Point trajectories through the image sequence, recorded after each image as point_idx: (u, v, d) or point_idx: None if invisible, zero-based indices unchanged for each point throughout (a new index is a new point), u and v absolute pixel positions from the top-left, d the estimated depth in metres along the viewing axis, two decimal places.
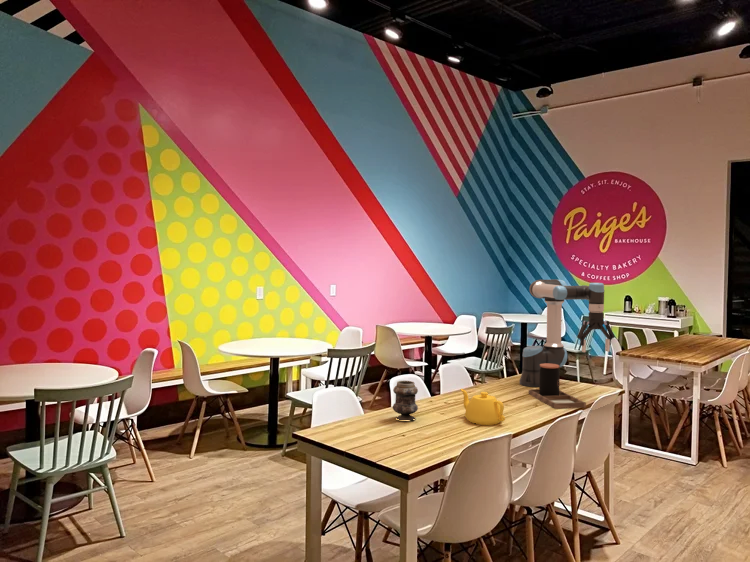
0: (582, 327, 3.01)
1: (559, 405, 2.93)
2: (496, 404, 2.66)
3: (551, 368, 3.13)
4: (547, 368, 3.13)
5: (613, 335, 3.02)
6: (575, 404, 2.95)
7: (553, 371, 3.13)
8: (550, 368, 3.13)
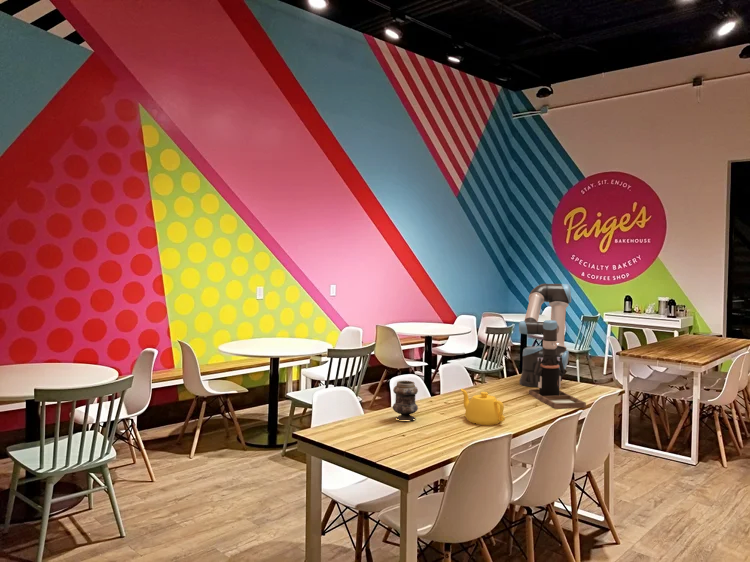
0: (537, 364, 3.17)
1: (559, 405, 2.93)
2: (496, 404, 2.66)
3: (551, 368, 3.13)
4: (547, 368, 3.13)
5: (564, 372, 3.18)
6: (575, 404, 2.95)
7: (553, 371, 3.13)
8: (550, 368, 3.13)
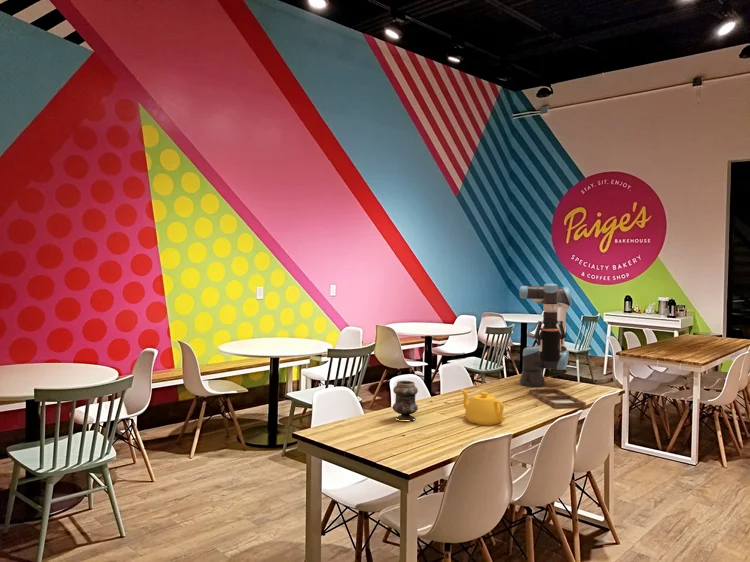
0: (537, 327, 3.16)
1: (559, 405, 2.93)
2: (496, 404, 2.66)
3: (552, 331, 3.12)
4: (548, 331, 3.13)
5: (565, 335, 3.17)
6: (575, 404, 2.95)
7: (554, 334, 3.12)
8: (551, 331, 3.12)
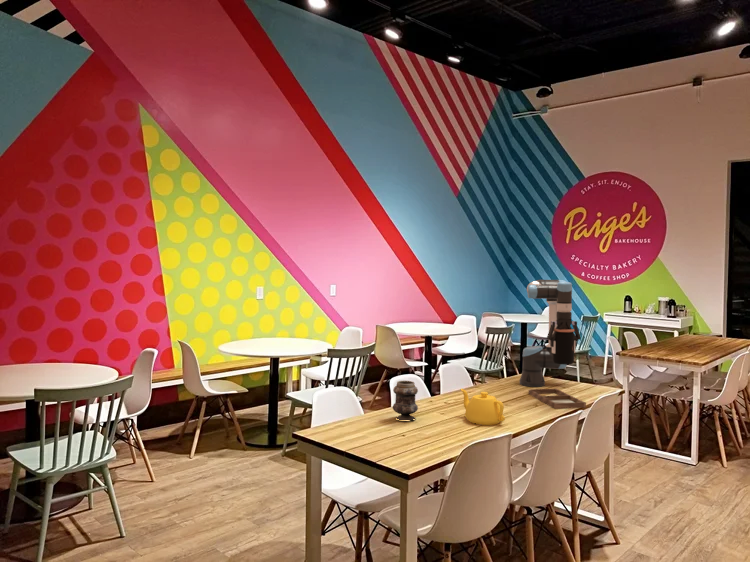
0: (550, 328, 3.00)
1: (559, 405, 2.93)
2: (496, 404, 2.66)
3: (566, 332, 2.96)
4: (561, 332, 2.97)
5: (579, 336, 3.01)
6: (575, 404, 2.95)
7: (568, 335, 2.96)
8: (565, 332, 2.96)
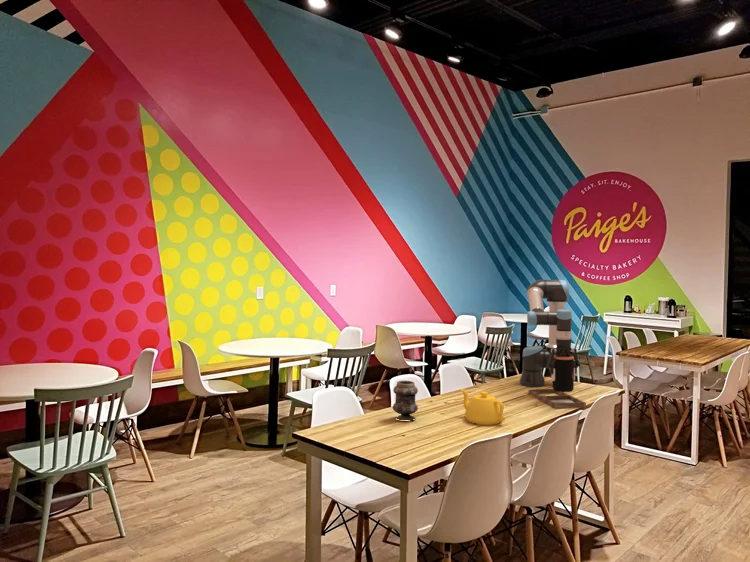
0: (550, 355, 3.01)
1: (559, 405, 2.93)
2: (496, 404, 2.66)
3: (565, 359, 2.97)
4: (561, 359, 2.97)
5: (579, 364, 3.02)
6: (575, 404, 2.95)
7: (567, 363, 2.97)
8: (564, 359, 2.97)
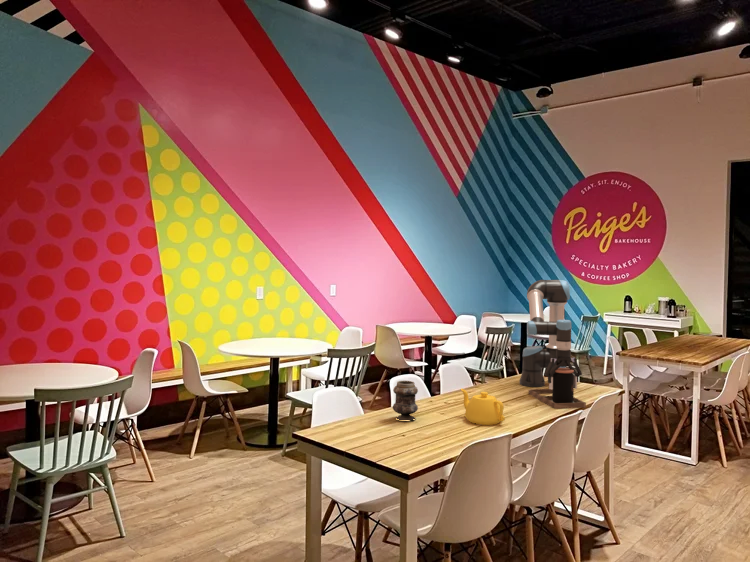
0: (549, 364, 3.01)
1: (559, 405, 2.93)
2: (496, 404, 2.66)
3: (565, 373, 2.97)
4: (561, 373, 2.98)
5: (580, 372, 3.02)
6: (575, 404, 2.95)
7: (567, 376, 2.97)
8: (564, 373, 2.97)
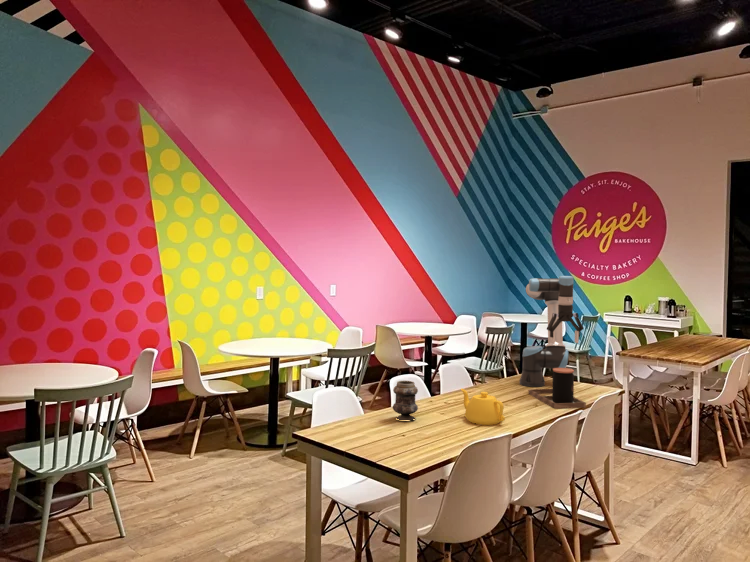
0: (552, 319, 3.09)
1: (559, 405, 2.93)
2: (496, 404, 2.66)
3: (565, 373, 2.97)
4: (561, 373, 2.98)
5: (582, 327, 3.10)
6: (575, 404, 2.95)
7: (567, 376, 2.97)
8: (564, 373, 2.97)
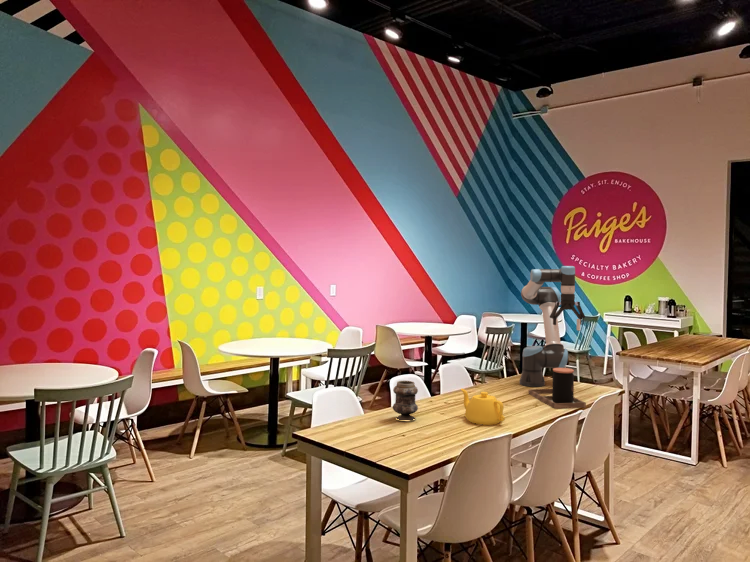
0: (554, 307, 3.21)
1: (559, 405, 2.93)
2: (496, 404, 2.66)
3: (565, 373, 2.97)
4: (561, 373, 2.98)
5: (584, 315, 3.22)
6: (575, 404, 2.95)
7: (567, 376, 2.97)
8: (564, 373, 2.97)
